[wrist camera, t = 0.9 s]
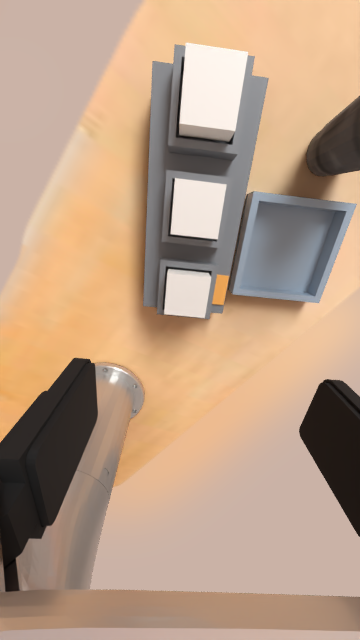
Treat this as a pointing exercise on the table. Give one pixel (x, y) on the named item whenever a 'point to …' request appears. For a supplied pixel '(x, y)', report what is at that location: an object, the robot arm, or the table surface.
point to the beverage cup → (337, 144)
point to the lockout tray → (288, 246)
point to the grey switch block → (199, 165)
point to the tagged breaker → (187, 293)
